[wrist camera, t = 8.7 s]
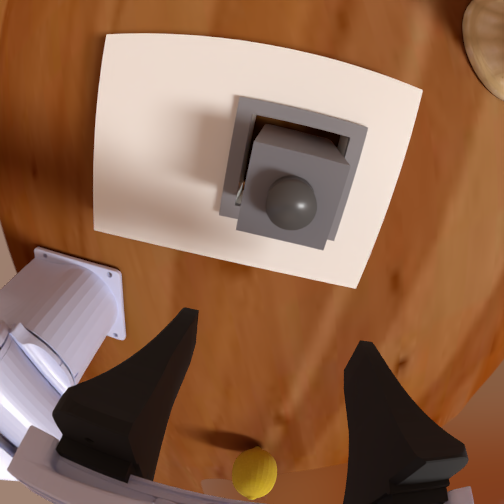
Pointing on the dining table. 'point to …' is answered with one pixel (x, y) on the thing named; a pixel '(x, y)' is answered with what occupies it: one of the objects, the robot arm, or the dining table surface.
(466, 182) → the dining table surface
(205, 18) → the dining table surface
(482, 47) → the hand bell
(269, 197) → the plug
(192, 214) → the socket board
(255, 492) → the lemon
